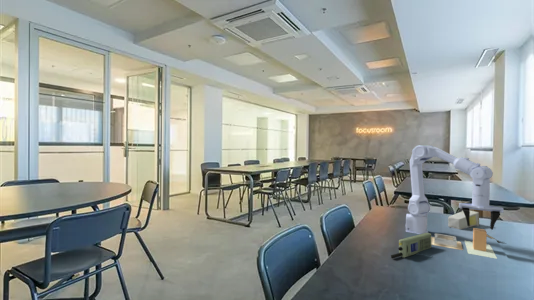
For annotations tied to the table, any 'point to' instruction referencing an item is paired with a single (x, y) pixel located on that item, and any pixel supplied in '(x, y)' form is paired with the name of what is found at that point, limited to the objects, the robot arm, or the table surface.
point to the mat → (486, 253)
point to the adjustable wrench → (494, 238)
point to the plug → (479, 239)
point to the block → (463, 220)
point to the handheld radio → (413, 245)
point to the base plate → (447, 246)
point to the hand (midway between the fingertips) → (479, 227)
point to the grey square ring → (445, 240)
